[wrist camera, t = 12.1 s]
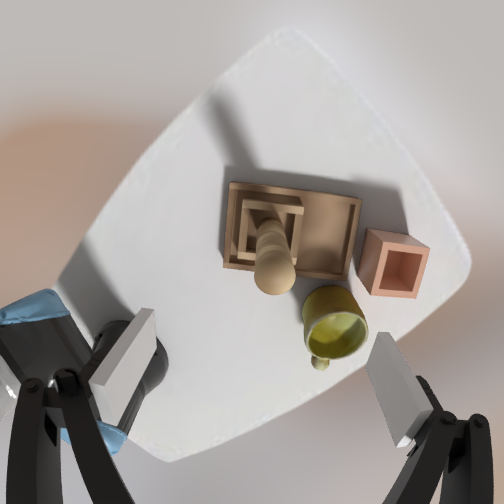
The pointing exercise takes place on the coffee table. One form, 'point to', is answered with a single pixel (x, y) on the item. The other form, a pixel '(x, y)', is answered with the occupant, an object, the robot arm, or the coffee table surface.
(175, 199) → the coffee table surface
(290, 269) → the dowel
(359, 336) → the mug
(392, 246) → the pink hollow box
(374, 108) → the coffee table surface
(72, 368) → the robot arm
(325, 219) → the tray
